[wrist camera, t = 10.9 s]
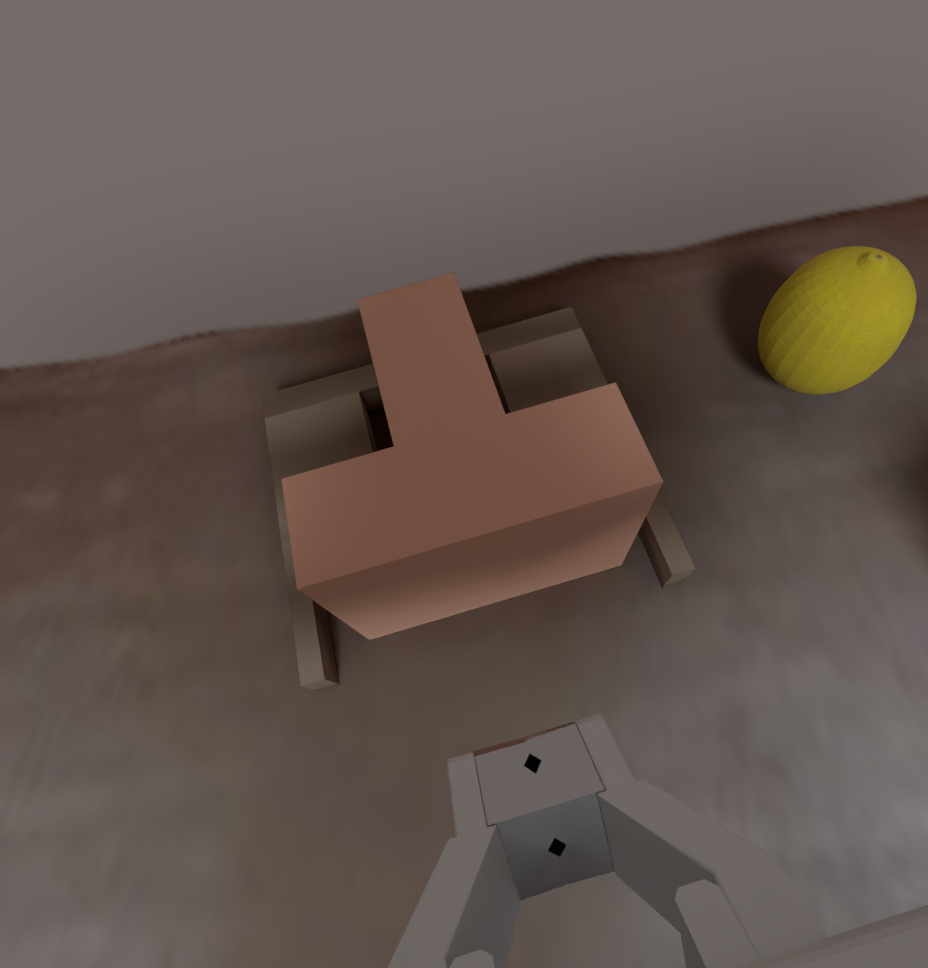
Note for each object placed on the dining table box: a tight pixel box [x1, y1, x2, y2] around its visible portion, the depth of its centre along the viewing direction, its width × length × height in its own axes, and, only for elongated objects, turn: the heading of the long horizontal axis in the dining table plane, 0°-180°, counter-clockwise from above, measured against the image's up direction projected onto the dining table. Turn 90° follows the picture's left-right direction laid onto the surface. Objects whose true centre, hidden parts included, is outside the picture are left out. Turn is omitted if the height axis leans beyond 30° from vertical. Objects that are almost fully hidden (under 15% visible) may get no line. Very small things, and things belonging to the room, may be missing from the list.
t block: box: [281, 272, 663, 640], centre depth 24 cm, size 11×12×9 cm
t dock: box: [261, 307, 695, 691], centre depth 28 cm, size 15×17×2 cm
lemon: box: [758, 246, 916, 394], centre depth 26 cm, size 6×6×8 cm
